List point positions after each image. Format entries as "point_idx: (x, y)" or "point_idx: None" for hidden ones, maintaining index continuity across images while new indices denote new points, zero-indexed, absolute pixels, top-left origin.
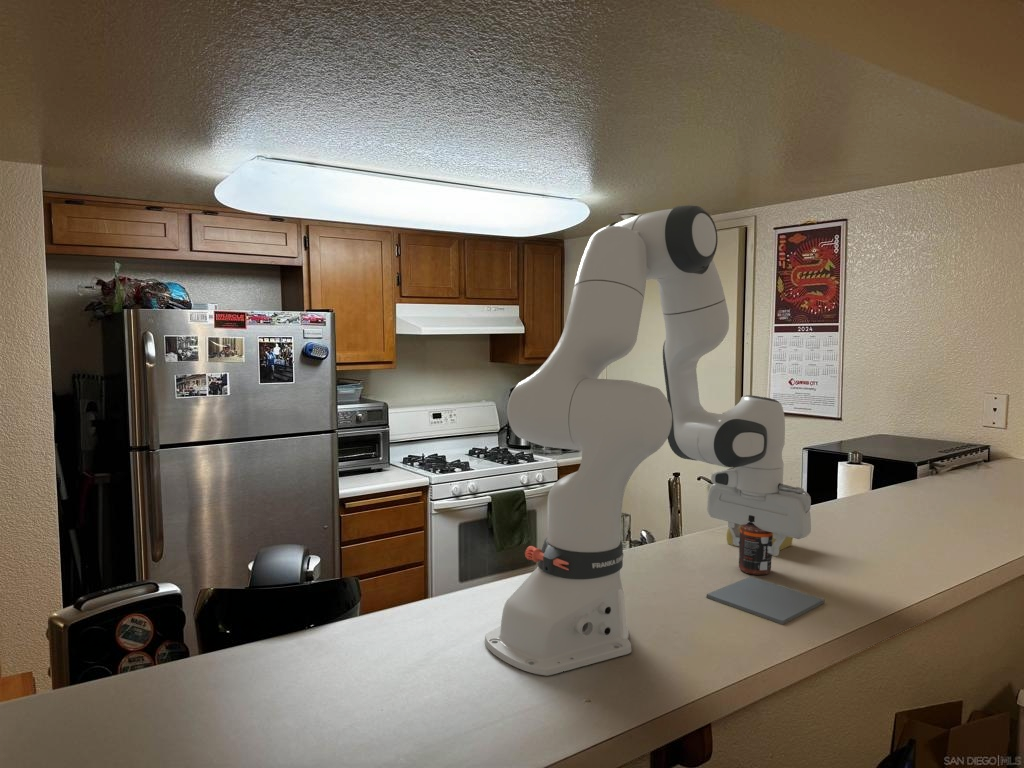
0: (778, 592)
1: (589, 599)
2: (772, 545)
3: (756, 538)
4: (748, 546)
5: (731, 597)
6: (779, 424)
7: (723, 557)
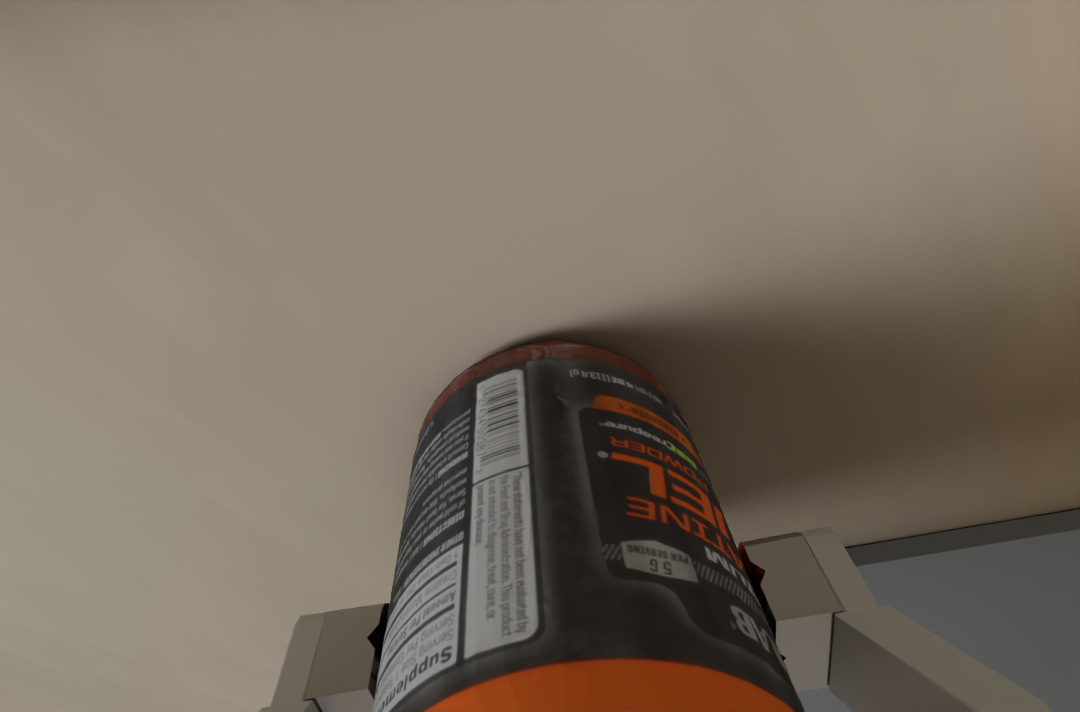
0: (941, 633)
1: None
2: (850, 705)
3: None
4: None
5: None
6: None
7: (144, 429)
